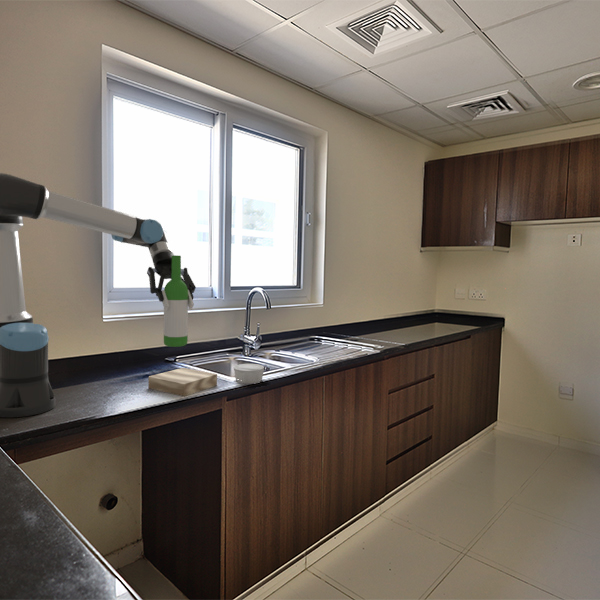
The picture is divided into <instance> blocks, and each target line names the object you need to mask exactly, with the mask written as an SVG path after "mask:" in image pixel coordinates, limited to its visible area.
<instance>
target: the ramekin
mask: <svg viewBox="0 0 600 600" xmlns="http://www.w3.org/2000/svg"><path fill="white" fill-rule="evenodd" d="M233 371H234V377H235V380H236V382H237V383H239V384H245V385H247V384H248V385H252V384H254V385H255V384H258V383H260V382H262V380H263V375H264V371H265V366H264V365H262V364H257V363H240V364H236V365H234V366H233ZM237 379H239V380H237ZM240 380H242V381H240Z"/></svg>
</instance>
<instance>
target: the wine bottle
mask: <svg viewBox="0 0 600 600" xmlns="http://www.w3.org/2000/svg"><path fill="white" fill-rule="evenodd" d="M181 269H182V257H181V255H175V254H174V255H172V275H171V279H169V281H168V282H167V283H166V284H165V285H164V289H163V290H165V293H166V297H167V300H168V303H169V307H168V310H167V311H165V309H164V308H163V344H164V345H165V346H166V347H172V348H173V347H174V348H175V347H176V348H177V347H183V346H186V345H187V344H188V341H189V340H188V339H189V338H188V333H189V331H188V329H189V328H188V326H189V325H188V324H189V318H188V317H189V307H188V289H187V286H186V284H185V283H184V282H183V281H182V280H181V277H182V276H181Z"/></svg>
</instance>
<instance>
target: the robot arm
mask: <svg viewBox="0 0 600 600" xmlns="http://www.w3.org/2000/svg"><path fill="white" fill-rule="evenodd" d="M23 218H29V219H33V220H36V221H37V220H40V219H41V218H43V219H48V220H52V221H56V222H60V223H64V224H69V225H72V226H75V227H76V226H77V227H80V228H83V229H88V230H92V231H95V232H101V233H104V234H109V235H111V238H112V239H113V241H116V242H120V243H123V244H128V245H130V244H131V245H133V246H140V247H143V248H144V247H145V248H147V249H148V250H149V251H148V252H149V254H150V257H151V260H152V263H153V266H154V268H153V267H152V266H148V269H147V271H146V274H147V277H148V278H149V279H148V280H149V288H150V289H149V290H150V292H149V293H151V294H155V296H156V297H157V299H158V301H159V302H161V303H162V305H163V310H164V309H165V311H167V310H168V307H169V303H168V300H167V297H166V293H165V290H164V289H163V286H164V282H165V280H171V275H172V255H175V254H174V251H173V249H172V247H171V244H170V240H169V238H168V237H169V236H168V233H167V231H166V229H165V227H164V225H163V224H161V222H159V221H158V220H156V219H151V218H148V219H147V218H146V219H145V218H142V217H138V216H134V215H131V214H128V213H124V212H121V211H119V210H118V211H117V210H114V209H110V208H108V207H104V206H100V205H98V204H94V203H91V202H89V201H88V202H87V201H84V200H81V199H77V198H74V197H71V196H67V195H64V194H61V193H56V192H53V191H49V190H48V189H47V187H46V186H45V185H42V184H41V183H40V184H39V183H36V182H33V181H30V180H27V179H25V178H21V177H20V176H15V175H12V174H8V173H3V172H0V418H10V419H11V418H22V417H23V418H24V417H30V416H34V415H38V414H43V413H46V412H49V411H50V410H52V409H54V408H55V407H56V396H55V393H54V391H53V388H52V386H51V383H50V380H49V341H50V340H49V339H50V338H49V333H48V330H47V328H46V326H44V325H43V324H40V323H34V318H33V315H32V314H31V313H29V312H28V311H27V308H26V298H25V288H24V277H23V269H22V259H21V251H20V250H21V249H20V241H19V231H20V230H21V229H22V228H23V227H24V219H23ZM155 274H157V275H158V276H159V281H158V284H157V285H158V286H157V285H156V275H155ZM181 280H182V281H183V282H184V283H185V284H186V286H187V289H188V311H191V310H193V308H194V300H193V299H194V293H195V291H196V284H195V283H194V281H193V280H192V278H191V276H190V274H189V272H188V268H187V267H184V268H181Z"/></svg>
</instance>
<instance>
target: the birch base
mask: <svg viewBox="0 0 600 600" xmlns="http://www.w3.org/2000/svg"><path fill="white" fill-rule="evenodd" d="M217 386H218V374H217V373H212V372H207V371H202V370H198V369H193V368H187V367H186V368H185V367H181V368H177V369H173V370H169V371H165V372H161V373H157V374H152V375H149V376H148V389H150V390H151V389H152V390H153V391H154V390H155V391H158V392H164V393H167V394H171V395H175V396H176V395H177V396H180V397H186V396H189V395H192V394H195V393H199V392H201V391H204V390H208V389H211V388H213V387H217Z"/></svg>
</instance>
